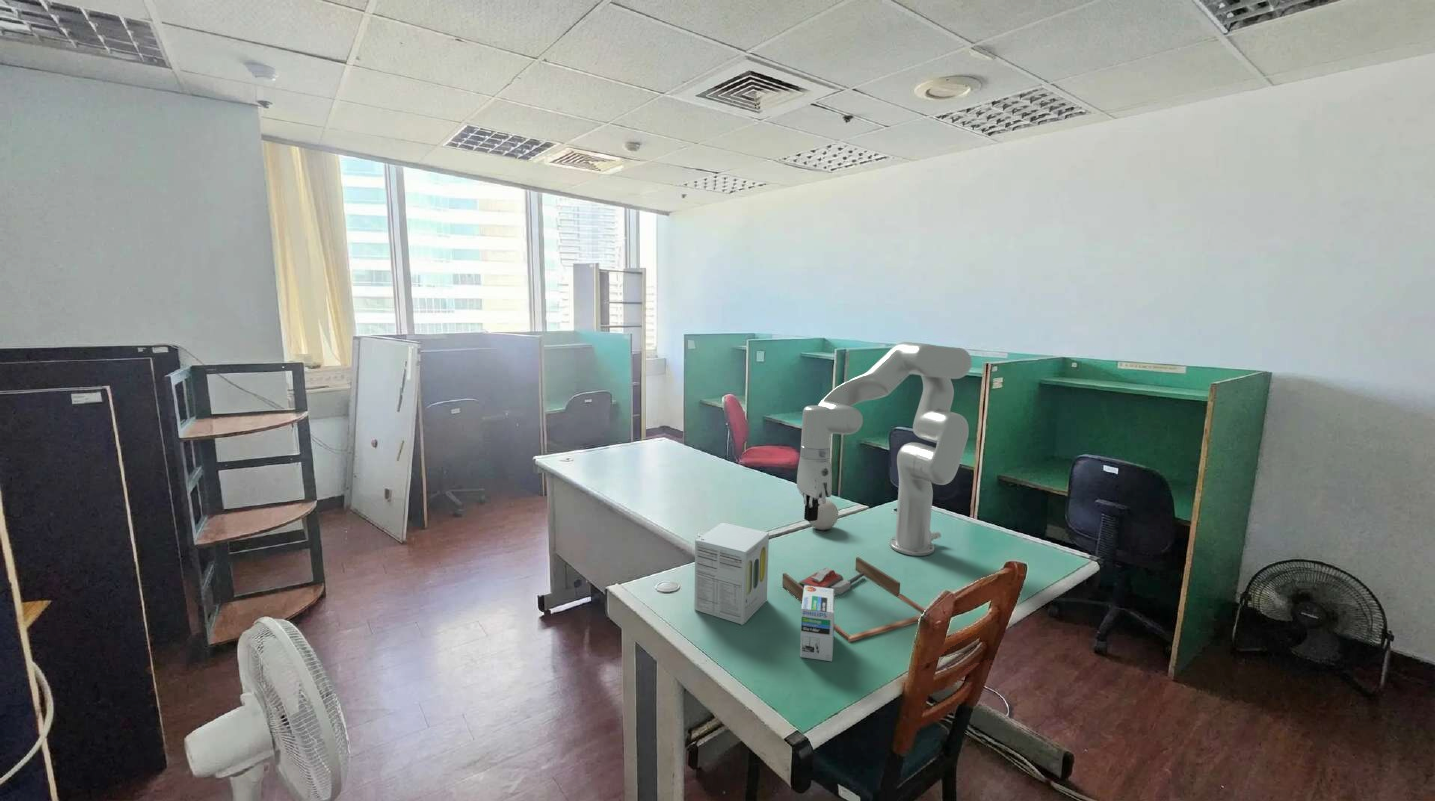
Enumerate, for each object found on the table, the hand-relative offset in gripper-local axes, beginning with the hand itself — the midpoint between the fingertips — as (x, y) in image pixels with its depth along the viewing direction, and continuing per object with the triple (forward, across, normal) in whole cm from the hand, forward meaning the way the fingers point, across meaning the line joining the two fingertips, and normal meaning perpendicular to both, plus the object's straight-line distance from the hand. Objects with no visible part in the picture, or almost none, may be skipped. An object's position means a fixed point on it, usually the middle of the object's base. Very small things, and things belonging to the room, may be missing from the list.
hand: (810, 519), depth 155 cm
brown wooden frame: (+14, -19, -1) cm, 24 cm away
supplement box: (+15, -8, +27) cm, 32 cm away
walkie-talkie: (+15, -10, 0) cm, 18 cm away
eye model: (+14, +23, -21) cm, 34 cm away
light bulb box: (+15, -30, +18) cm, 38 cm away
